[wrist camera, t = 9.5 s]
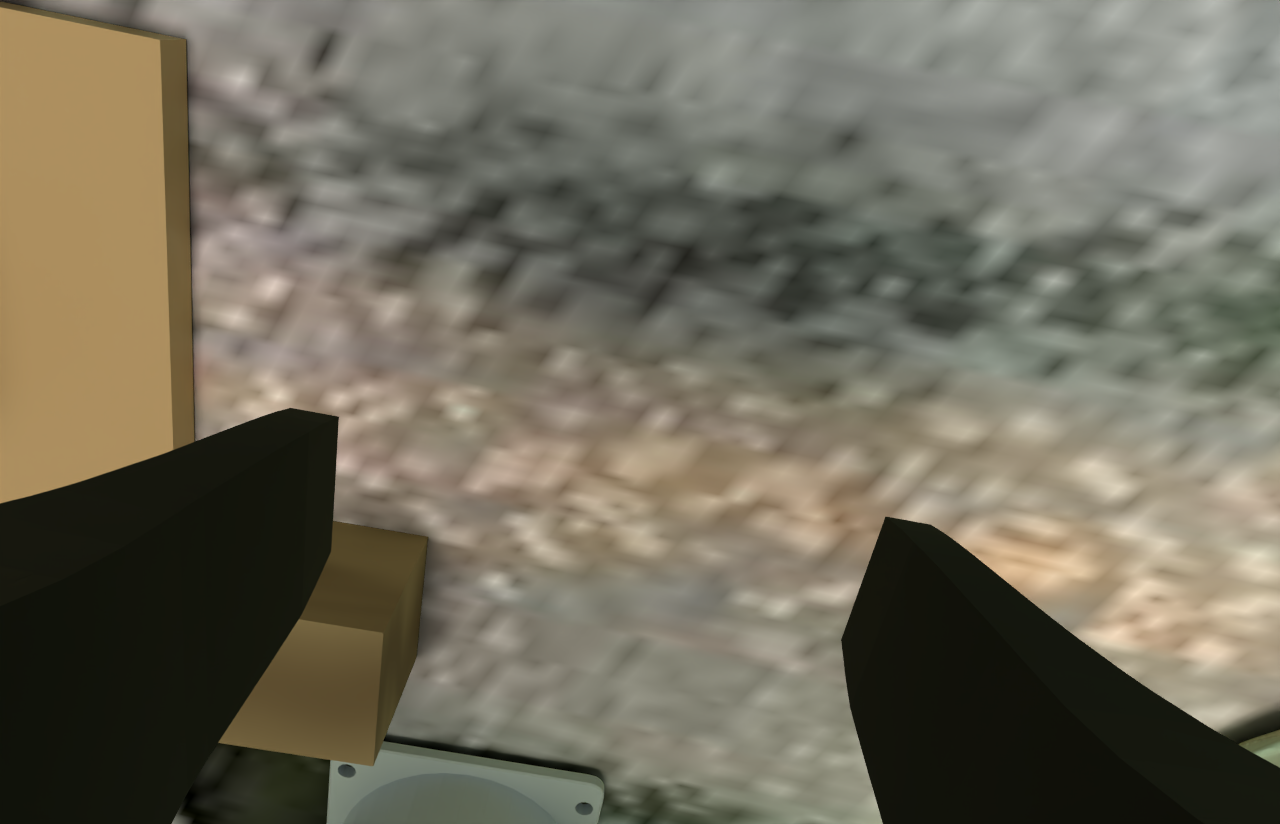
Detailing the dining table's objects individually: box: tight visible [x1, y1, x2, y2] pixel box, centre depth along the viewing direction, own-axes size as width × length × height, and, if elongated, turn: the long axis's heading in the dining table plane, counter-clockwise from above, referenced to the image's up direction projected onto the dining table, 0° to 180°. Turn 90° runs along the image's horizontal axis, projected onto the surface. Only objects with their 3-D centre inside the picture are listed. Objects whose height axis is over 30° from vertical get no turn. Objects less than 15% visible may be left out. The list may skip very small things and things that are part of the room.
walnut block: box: [218, 521, 428, 766], centre depth 21 cm, size 4×4×4 cm
